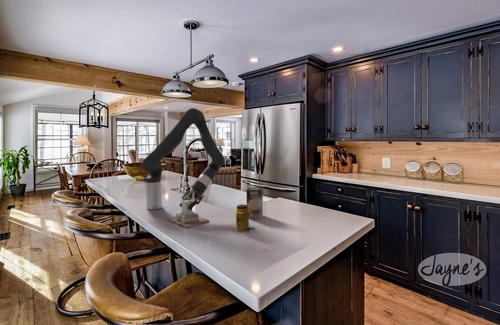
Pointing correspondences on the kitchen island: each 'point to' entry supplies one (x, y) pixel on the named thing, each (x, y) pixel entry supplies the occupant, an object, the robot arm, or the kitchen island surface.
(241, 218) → the condiment
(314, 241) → the kitchen island surface
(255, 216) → the coffee box
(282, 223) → the kitchen island surface
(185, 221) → the board
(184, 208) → the post
